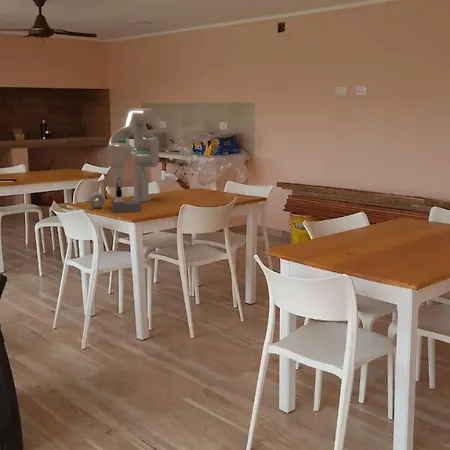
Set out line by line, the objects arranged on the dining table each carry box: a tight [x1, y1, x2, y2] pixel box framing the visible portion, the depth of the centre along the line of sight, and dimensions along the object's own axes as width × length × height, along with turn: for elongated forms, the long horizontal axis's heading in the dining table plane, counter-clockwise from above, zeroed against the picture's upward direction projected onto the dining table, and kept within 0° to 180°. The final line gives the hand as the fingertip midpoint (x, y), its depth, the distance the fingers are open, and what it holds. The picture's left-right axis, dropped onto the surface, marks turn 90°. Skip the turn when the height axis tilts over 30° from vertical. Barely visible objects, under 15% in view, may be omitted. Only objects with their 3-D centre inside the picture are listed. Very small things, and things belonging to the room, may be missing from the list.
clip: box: [105, 192, 116, 201], centre depth 372 cm, size 2×15×2 cm, turn 22°
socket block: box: [110, 199, 141, 214], centre depth 366 cm, size 11×16×6 cm
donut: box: [88, 191, 105, 209], centre depth 372 cm, size 10×4×10 cm, turn 128°
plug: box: [114, 189, 125, 204], centre depth 364 cm, size 6×6×13 cm
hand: (118, 196), depth 364 cm, fingers closed on plug, 3 cm apart
